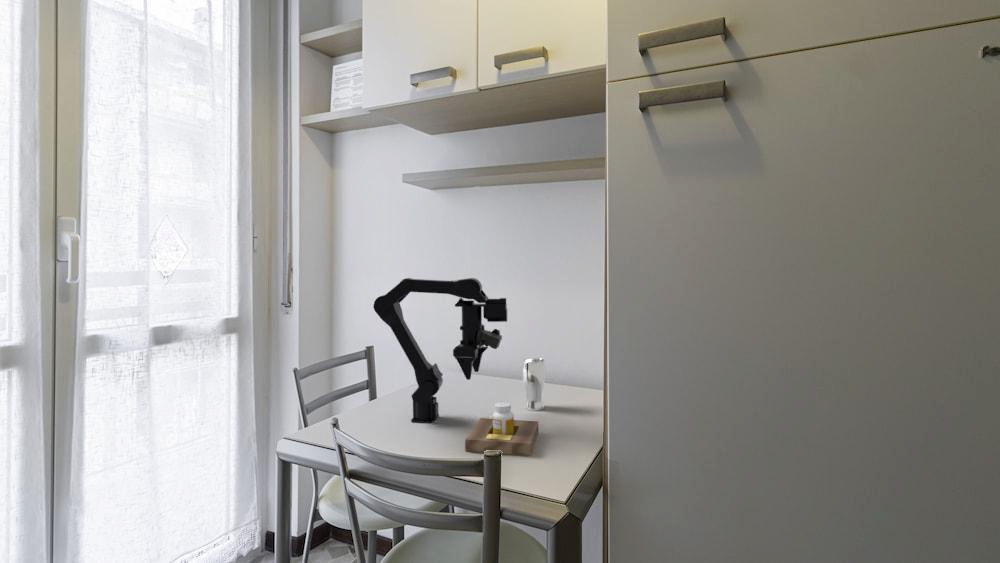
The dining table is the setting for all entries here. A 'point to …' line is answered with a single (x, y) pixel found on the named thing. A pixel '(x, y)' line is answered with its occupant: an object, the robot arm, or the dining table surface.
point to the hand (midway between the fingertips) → (472, 375)
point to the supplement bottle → (503, 419)
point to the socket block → (503, 438)
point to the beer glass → (534, 383)
